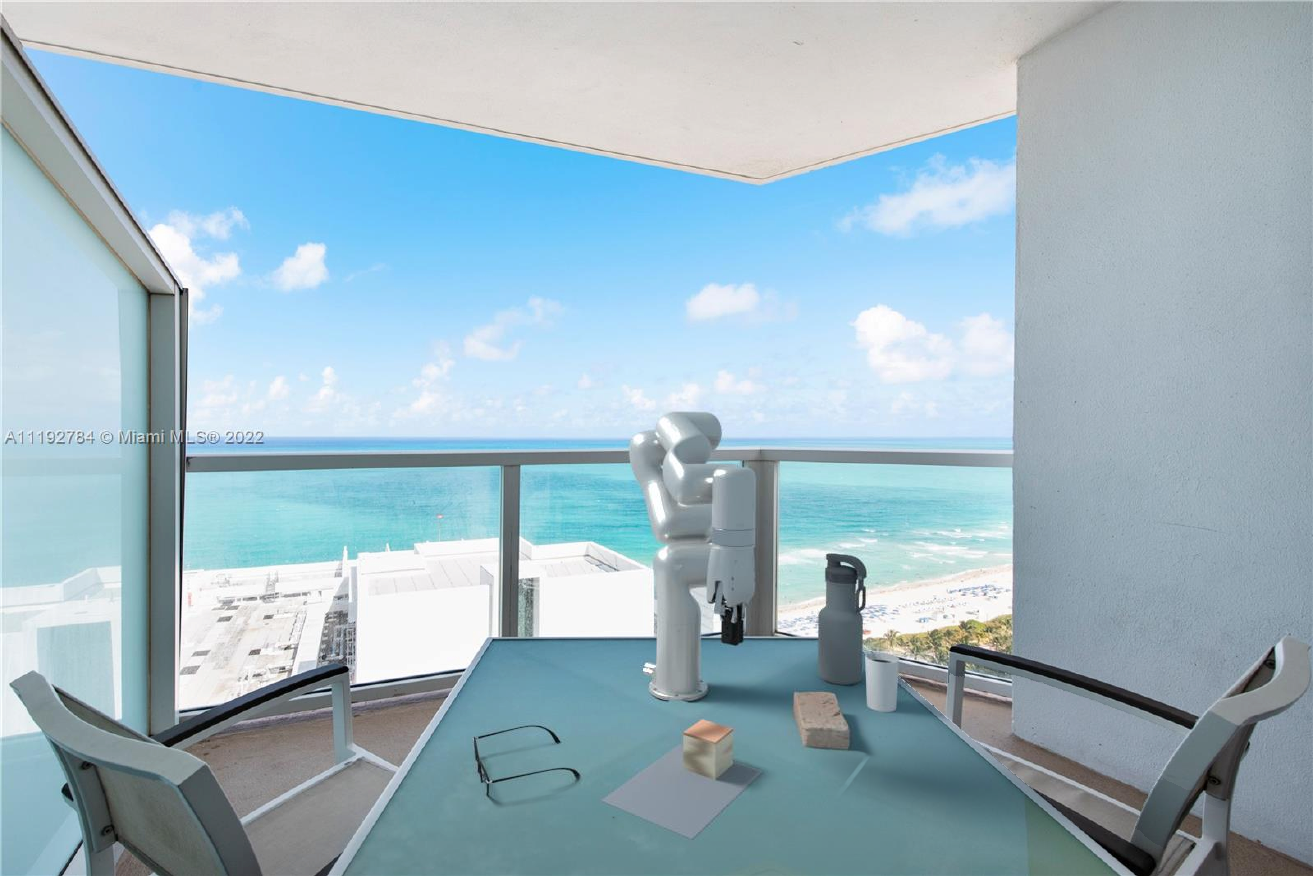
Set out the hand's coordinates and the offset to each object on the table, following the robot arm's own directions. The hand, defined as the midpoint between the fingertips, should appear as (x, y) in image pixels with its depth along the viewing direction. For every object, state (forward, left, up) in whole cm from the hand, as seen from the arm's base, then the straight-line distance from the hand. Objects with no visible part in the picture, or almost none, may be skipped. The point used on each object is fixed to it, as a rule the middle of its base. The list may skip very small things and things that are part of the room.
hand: (732, 642), depth 115 cm
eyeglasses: (-25, -25, -20) cm, 41 cm away
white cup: (+16, +35, -19) cm, 43 cm away
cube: (0, -8, -19) cm, 20 cm away
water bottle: (+4, +45, -19) cm, 49 cm away
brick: (+10, +17, -20) cm, 28 cm away
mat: (0, -15, -19) cm, 24 cm away
